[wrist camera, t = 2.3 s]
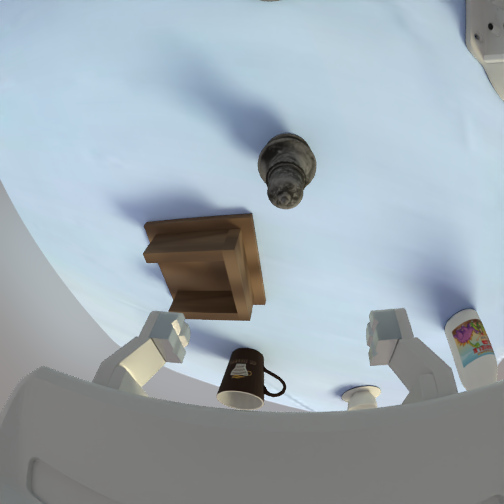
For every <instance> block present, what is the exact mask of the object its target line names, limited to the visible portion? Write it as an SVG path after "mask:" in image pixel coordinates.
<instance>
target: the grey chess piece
mask: <svg viewBox="0 0 504 504" xmlns="http://www.w3.org/2000/svg"><path fill="white" fill-rule="evenodd" d="M258 171H259V173H260V176H261V178H262V179H263V181H264V182H265V183H266V184H267V187H268V190H267V194H268V197H269V200H270V201H271V203H272V204H273V205H274V206H276V207H278V208H281V209H291V208H293V207H295V206H297V205H298V204H299V203H300V201H301V200H302V197H303V190H304V188H305V187H306V186H307V185H308V184H309V183H310V182H311V181H312V179H313V178H314V175H315V172H316V160H315V156H314V154H313V153H312V151H311V149H310V147H309V146H308V144H307V143H306V141H304V140H303V139H302V138H301V137H299V136H297V135H294V134H280V135H277V136H275V137H274V138H272V139H271V140H270V141H269V142H268V144H267V145H266V146H265V147H264V149H263V150H262V152H261V153H260V155H259V159H258Z"/></svg>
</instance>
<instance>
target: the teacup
mask: <svg viewBox="0 0 504 504" xmlns="http://www.w3.org/2000/svg"><path fill="white" fill-rule="evenodd" d="M380 393H381V390H380V389H379V388H377V387H373V386H364V387H358V388H354V389H351V390H349V391H347V392H345V393H344V394H343V395H342V399H343V400H344V401H345V402H348V410H361V409H371V408H377V403H376V399H375V398H376V397H377V396H379V395H380ZM348 410H347V411H348Z"/></svg>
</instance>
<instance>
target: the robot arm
mask: <svg viewBox="0 0 504 504" xmlns="http://www.w3.org/2000/svg"><path fill="white" fill-rule="evenodd" d="M474 35H476V37H477V39H476V38H475V36H474ZM466 46H467V48H468V50H469V51H470V52H471V53H472V55H473V56H474V57H475V58H476V59H477V60H478V61H479V62H480V63H481V64H482V66H483V67H484V69H485V71H486V73H487V75H488V78H489V80H490V82H491V84H492V85H493V87H494V89H495V90H496V92H497V93H498V95H499V96H500V97H501V99H502V100H503V101H504V0H466ZM369 319H370V322H369V323H368V324H367V329H366V340H367V345H368V346H369V347H370V349H369V353H368V354H369V360H370V366H375V365H389V367H390V368H391V369H392V370H393V371H394V373H395V374H396V375H397V376H398V378H399V379H400V380H401V381H402V383H403V384H404V385H405V386H406V388H407V389H408V390H409V394H408V395H407V397H406V398H405V400H404V401H403V403H402V405H395V406H388V407H380V408H371V409H361V410H348V411H331V412H265V411H248V410H234V409H224V408H215V407H206V406H199V405H192V404H185V403H179V402H173V401H167V400H162V399H157V398H152V397H148V395H147V393H146V392H145V391H144V390H143V389H142V386H143V385H144V384H145V383H146V382H147V381H148V380H149V379H150V378H151V377H152V376H153V375H154V374H155V373H156V372H157V371H158V370H159V369H160V368H161V367H162V366H163V365H164V364H165V363H166V362H173V363H182V362H183V359H184V356H185V353H186V351H185V349H184V347H186V346H187V345H188V344H189V341H190V334H191V333H190V328H189V325H188V324H187V323H185V322H184V320H185V317H184V315H183V313H175V312H163V311H162V312H161V311H152V312H151V313H150V314H149V316H148V318H147V320H146V322H145V325H144V327H143V329H142V331H141V333H140V335H139V337H135V338H134V339H132V340H131V341H130V342H128V343H127V344H126V345H124V346H123V347H121V348H120V349H119V350H117V351H116V352H115V353H114V354H112V355H111V356H109V357H108V358H107V359H105V360H104V361H103V362H102V363H101V365H100V367H99V369H98V371H97V373H96V375H95V377H94V379H93V381H92V382H89V381H85V380H83V379H79V378H77V377H74V376H71V375H68V374H64V373H62V372H59V371H56V370H54V369H51V368H49V367H45V366H42V367H39V368H37V369H36V370H34V371H32V372H31V373H29V374H28V375H26V376H25V377H24V378H22V379H21V380H20V381H19V382H18V384H17V385H16V387H15V388H14V390H13V391H12V393H11V395H10V396H9V398H8V400H7V402H6V404H5V405H4V407H3V409H2V411H1V413H0V504H504V380H501V381H498V382H495V383H492V384H489V385H486V386H482V387H479V388H475V389H472V390H468V391H465V392H461V393H458V391H457V387H456V383H455V379H454V375H453V372H452V369H451V368H450V367H449V366H448V365H447V364H446V363H445V362H444V361H443V360H442V359H441V358H440V357H438V356H437V355H436V354H435V353H434V352H433V351H432V350H431V349H430V348H428V347H427V346H426V345H425V344H424V343H423V342H422V341H421V340H420V339H418V338H417V337H415V338H414V335H413V332H412V329H411V325H410V322H409V319H408V316H407V313H406V310H405V309H404V308H399V309H386V310H374V311H371V312H370V315H369Z"/></svg>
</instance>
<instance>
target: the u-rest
mask: <svg viewBox="0 0 504 504" xmlns="http://www.w3.org/2000/svg"><path fill="white" fill-rule="evenodd" d="M144 228H145V230H146V233H147V236H148V238H149V241H150V244H149V245H148V247H147V248H146V250H145V251H144V253H143V255H144V258H145V260H146V263H158V264H159V267H160V269H161V272H162V274H163V276H164V279H165V281H166V284H167V286H168V288H169V291H170V293H171V295H172V298H173V302H172V305H171V307H170V309H169V312H175V313H183V315H184V317H185V319H202V320H240V321H250V318H251V313H252V307H253V305H265V303H266V298H265V291H264V285H263V278H262V272H261V266H260V259H259V253H258V247H257V241H256V234H255V228H254V222H253V216H252V214H237V215H223V216H210V217H197V218H185V219H174V220H164V221H153V222H147V223H146V224H145V225H144Z"/></svg>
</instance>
